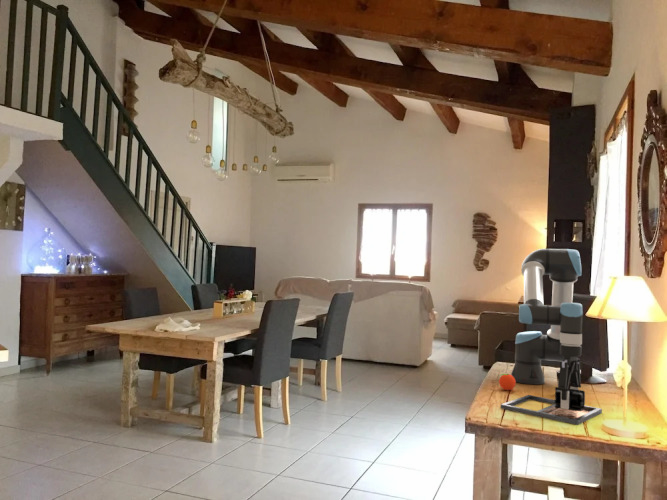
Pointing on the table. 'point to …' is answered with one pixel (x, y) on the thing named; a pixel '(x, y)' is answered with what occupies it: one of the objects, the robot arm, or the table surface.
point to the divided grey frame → (553, 410)
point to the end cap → (571, 399)
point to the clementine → (507, 381)
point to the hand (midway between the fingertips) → (569, 406)
